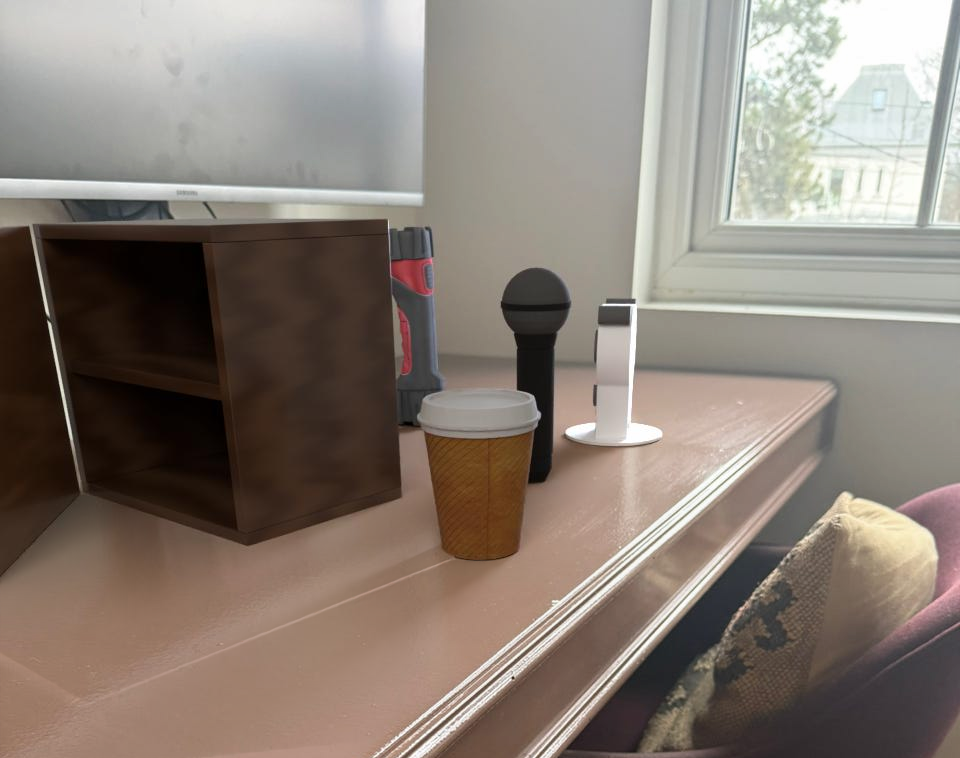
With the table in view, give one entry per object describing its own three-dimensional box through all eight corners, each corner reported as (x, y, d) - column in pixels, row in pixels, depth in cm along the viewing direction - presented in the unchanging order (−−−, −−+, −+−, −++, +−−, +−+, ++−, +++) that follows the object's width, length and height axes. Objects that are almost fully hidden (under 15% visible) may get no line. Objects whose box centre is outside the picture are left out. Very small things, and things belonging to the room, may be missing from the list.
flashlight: (374, 418, 126) (363, 226, 117) (432, 413, 128) (425, 225, 119) (388, 430, 119) (377, 228, 110) (448, 424, 122) (443, 226, 112)
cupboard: (248, 547, 80) (209, 225, 69) (82, 492, 95) (31, 223, 85) (402, 498, 92) (388, 218, 82) (233, 457, 108) (204, 218, 98)
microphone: (574, 486, 95) (580, 268, 87) (508, 490, 94) (507, 270, 86) (558, 469, 101) (562, 264, 92) (496, 473, 100) (494, 266, 92)
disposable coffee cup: (444, 525, 84) (439, 385, 79) (551, 534, 82) (553, 389, 77) (405, 561, 76) (397, 407, 71) (522, 572, 73) (523, 413, 68)
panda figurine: (572, 422, 122) (575, 296, 116) (663, 425, 120) (671, 297, 113) (559, 444, 111) (562, 307, 105) (660, 447, 109) (668, 307, 103)
